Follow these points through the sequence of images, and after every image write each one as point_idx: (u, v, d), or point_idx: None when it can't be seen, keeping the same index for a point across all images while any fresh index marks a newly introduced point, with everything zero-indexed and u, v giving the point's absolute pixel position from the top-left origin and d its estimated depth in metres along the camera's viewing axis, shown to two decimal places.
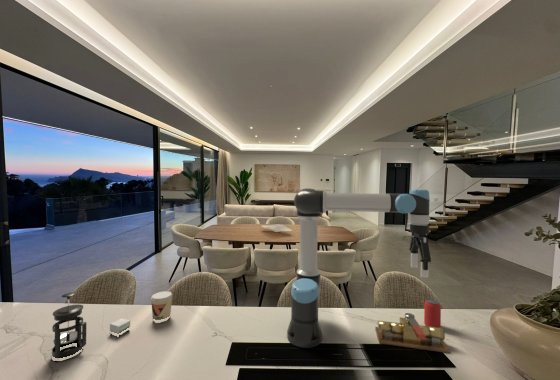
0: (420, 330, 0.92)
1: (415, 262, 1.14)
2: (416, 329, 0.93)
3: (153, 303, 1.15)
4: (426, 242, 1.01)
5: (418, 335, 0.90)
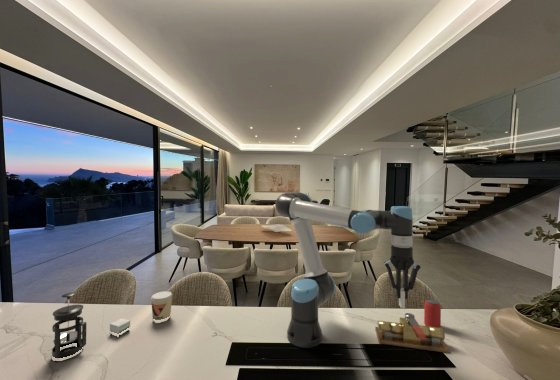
0: (420, 330, 0.92)
1: None
2: (416, 329, 0.93)
3: (153, 303, 1.15)
4: (387, 268, 0.95)
5: (418, 335, 0.90)
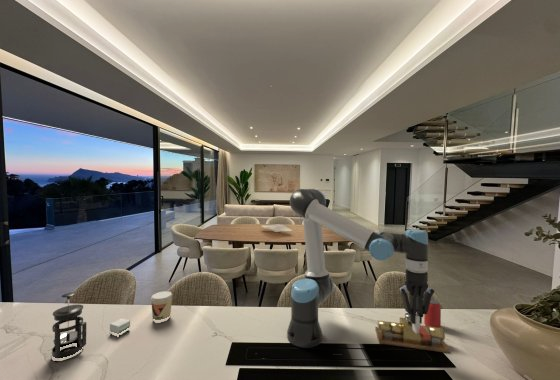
0: (424, 330, 0.92)
1: None
2: (420, 330, 0.93)
3: (153, 303, 1.15)
4: (403, 293, 0.93)
5: (424, 336, 0.89)
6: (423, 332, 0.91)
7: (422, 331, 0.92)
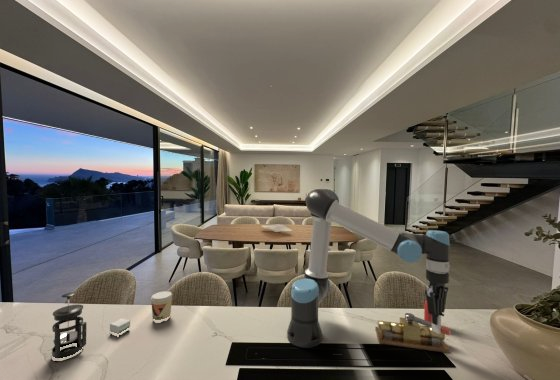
0: (441, 326, 0.95)
1: (436, 325, 0.94)
2: None
3: (153, 303, 1.15)
4: (431, 297, 0.91)
5: (448, 332, 0.92)
6: (444, 328, 0.94)
7: (442, 327, 0.94)
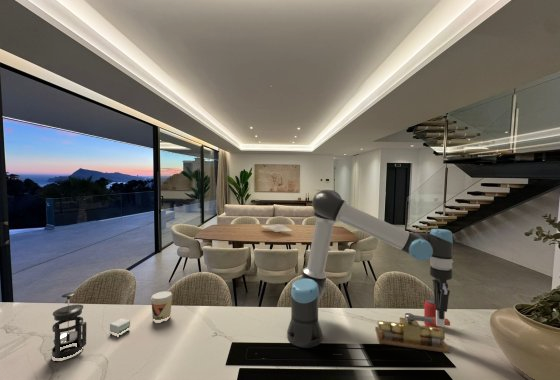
0: None
1: None
2: None
3: (153, 303, 1.15)
4: (446, 295, 0.94)
5: (449, 322, 0.99)
6: None
7: None
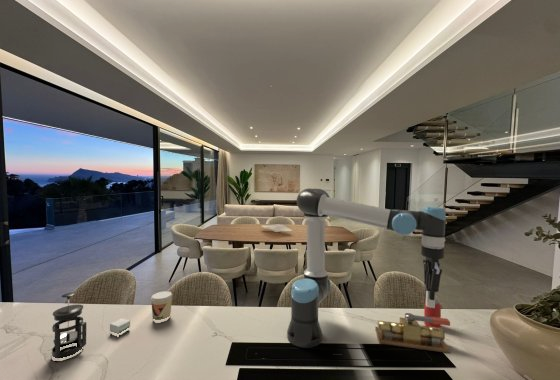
0: (440, 318, 1.01)
1: (431, 300, 0.95)
2: (440, 320, 1.00)
3: (153, 303, 1.15)
4: (438, 274, 0.90)
5: (449, 322, 0.99)
6: (444, 320, 1.00)
7: (442, 320, 1.00)
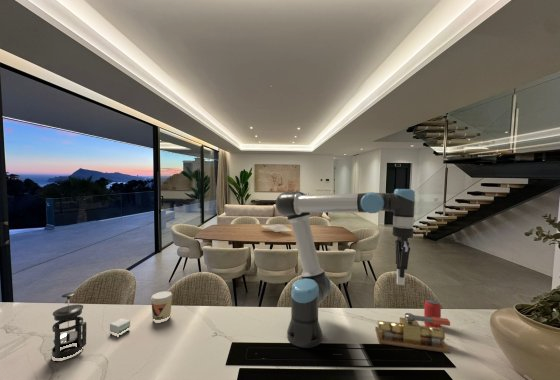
0: (440, 318, 1.01)
1: (401, 278, 0.99)
2: (440, 320, 1.00)
3: (153, 303, 1.15)
4: (407, 252, 0.94)
5: (449, 322, 0.99)
6: (444, 320, 1.00)
7: (442, 320, 1.00)
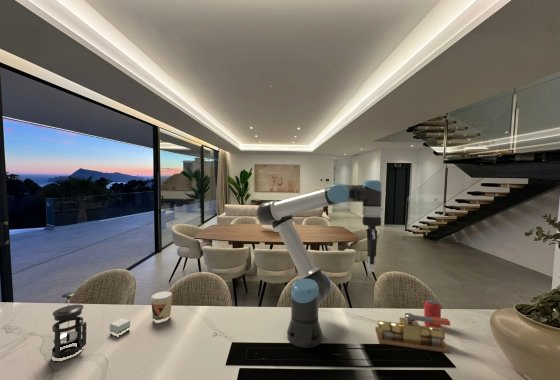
0: (440, 318, 1.01)
1: None
2: (440, 320, 1.00)
3: (153, 303, 1.15)
4: (375, 239, 0.99)
5: (449, 322, 0.99)
6: (444, 320, 1.00)
7: (442, 320, 1.00)
